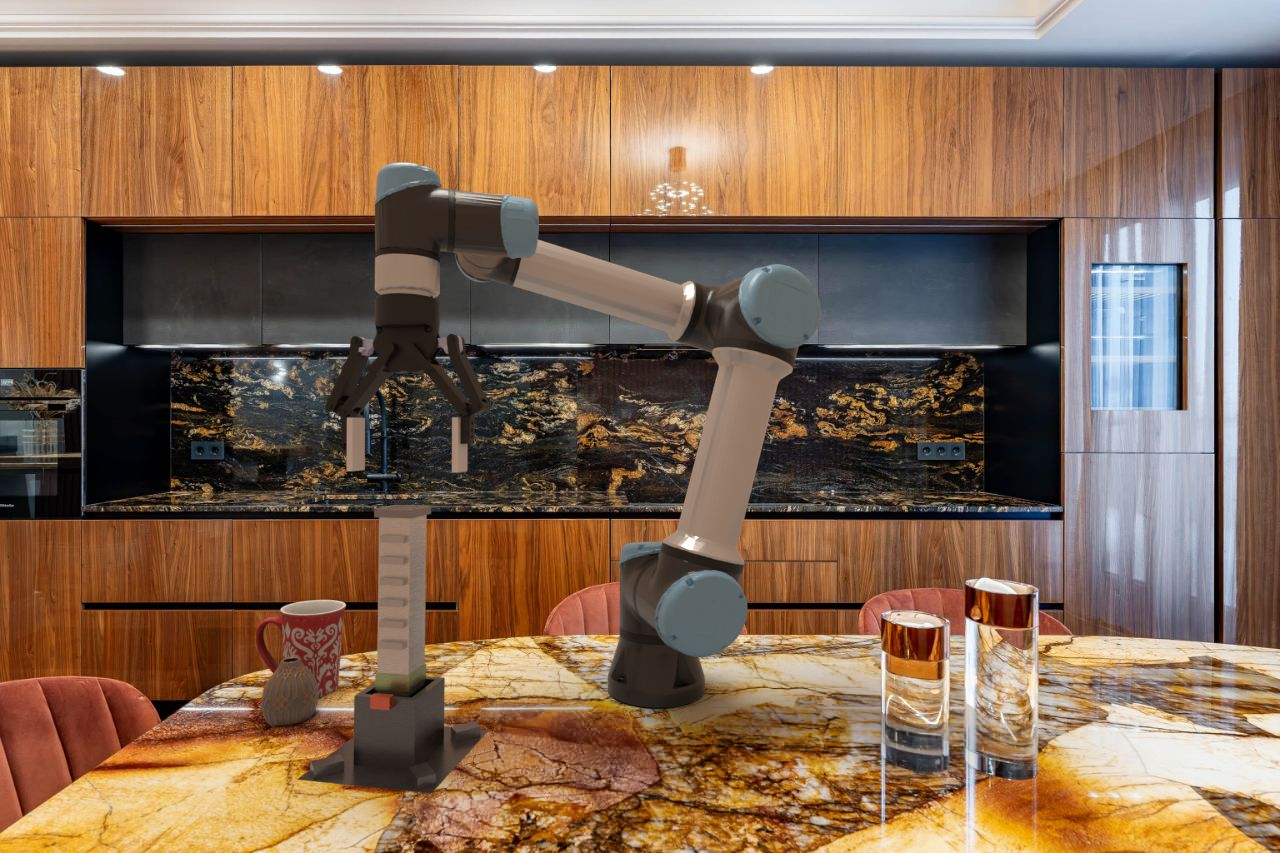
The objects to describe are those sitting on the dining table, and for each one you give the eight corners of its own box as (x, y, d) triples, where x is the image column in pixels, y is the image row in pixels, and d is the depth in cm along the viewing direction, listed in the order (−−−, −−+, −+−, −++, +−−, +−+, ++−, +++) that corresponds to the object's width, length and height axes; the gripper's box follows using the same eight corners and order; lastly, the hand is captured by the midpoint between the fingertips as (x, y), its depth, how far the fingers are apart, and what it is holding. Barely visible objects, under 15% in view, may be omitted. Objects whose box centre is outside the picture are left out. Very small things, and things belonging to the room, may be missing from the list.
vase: (248, 730, 92) (249, 664, 92) (291, 710, 98) (292, 649, 98) (288, 738, 89) (289, 670, 89) (329, 718, 96) (330, 654, 96)
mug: (354, 685, 108) (355, 599, 108) (329, 708, 99) (330, 614, 99) (273, 685, 108) (274, 598, 108) (240, 708, 99) (241, 613, 99)
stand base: (488, 737, 90) (489, 664, 90) (431, 802, 74) (432, 713, 74) (375, 727, 93) (376, 657, 93) (297, 788, 77) (298, 702, 77)
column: (428, 683, 86) (431, 505, 86) (408, 698, 81) (411, 510, 81) (393, 680, 86) (395, 504, 87) (371, 695, 81) (373, 509, 82)
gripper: (516, 299, 86) (515, 470, 86) (333, 305, 90) (332, 468, 90) (493, 287, 78) (492, 474, 78) (295, 294, 82) (294, 471, 82)
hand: (407, 471), depth 84 cm, fingers open, 13 cm apart
